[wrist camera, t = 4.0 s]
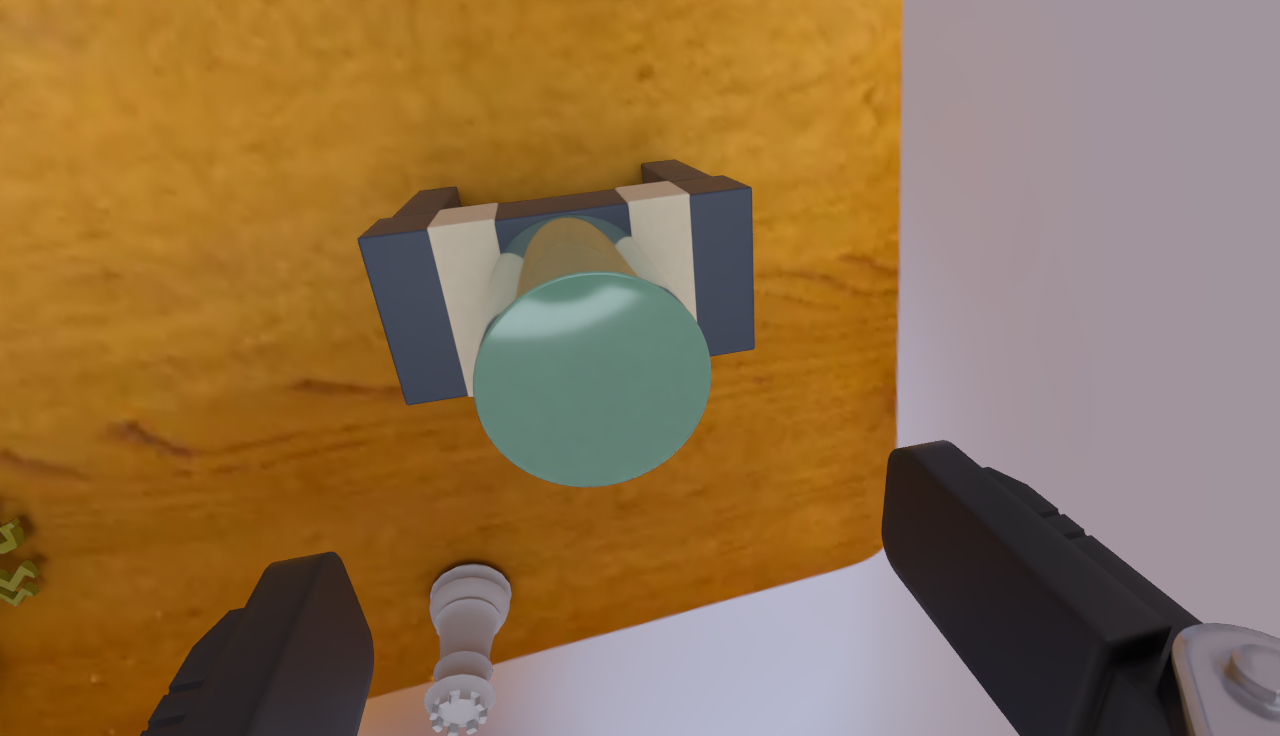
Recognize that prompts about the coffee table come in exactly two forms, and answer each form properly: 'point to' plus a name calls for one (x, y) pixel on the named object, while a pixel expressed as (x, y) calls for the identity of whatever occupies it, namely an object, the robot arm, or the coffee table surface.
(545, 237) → the mint green cylinder
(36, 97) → the coffee table surface
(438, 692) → the rook chess piece
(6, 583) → the scorpion
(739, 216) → the barricade
